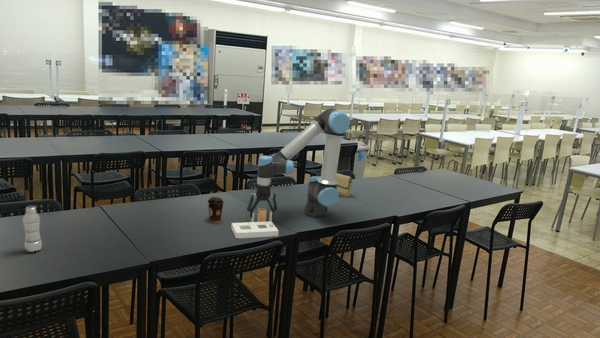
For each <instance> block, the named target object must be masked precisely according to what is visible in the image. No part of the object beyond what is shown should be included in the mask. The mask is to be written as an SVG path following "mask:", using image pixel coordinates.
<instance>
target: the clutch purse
mask: <svg viewBox="0 0 600 338" xmlns="http://www.w3.org/2000/svg"><path fill="white" fill-rule="evenodd" d="M321 171H322V168H320V172H319V173H318V175H317V176H321ZM335 180H336V181H337V183H338V184H337V191H338V194H339V197H338V198H342V197H346V198H349V197H350V195H351V189H352V187H353V185H352V183H353V176H350V175H344V174H341V173H336V179H335Z"/></svg>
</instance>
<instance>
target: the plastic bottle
mask: <svg viewBox="0 0 600 338" xmlns="http://www.w3.org/2000/svg"><path fill="white" fill-rule="evenodd" d="M36 211H37V207H36V206H35V205H28V206H25V214H24V215H23V217H22V224H23V228H24V234H25V237H24V250H25V251H26V252H27V251H28V253H35V252H34V251H36V252H38V250H39V251H40V250H41V249H42V247H43V246H42V245H43V243H42V242H43V241H42V238H41V234H40V224H41V217H40V214H38V213H37V212H36Z"/></svg>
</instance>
